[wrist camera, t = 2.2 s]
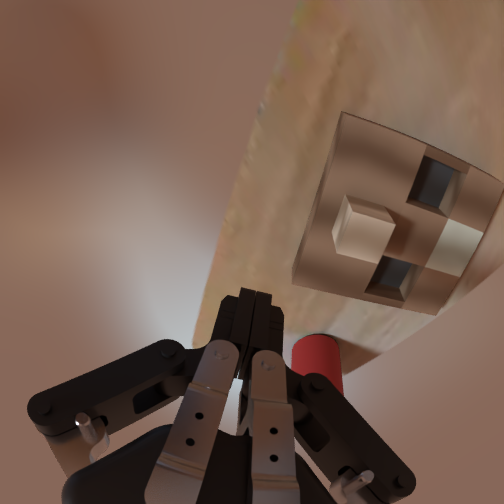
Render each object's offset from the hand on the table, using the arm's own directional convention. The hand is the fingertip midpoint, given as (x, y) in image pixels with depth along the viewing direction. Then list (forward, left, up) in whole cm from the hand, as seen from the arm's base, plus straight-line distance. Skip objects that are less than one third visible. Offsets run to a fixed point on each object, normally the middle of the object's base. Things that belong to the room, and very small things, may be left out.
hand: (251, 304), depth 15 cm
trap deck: (0, +14, -19) cm, 23 cm away
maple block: (0, +9, -16) cm, 18 cm away
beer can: (+21, +12, -19) cm, 31 cm away
